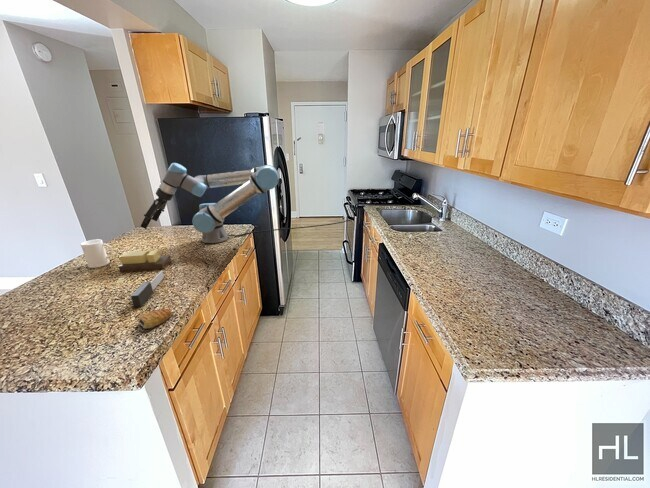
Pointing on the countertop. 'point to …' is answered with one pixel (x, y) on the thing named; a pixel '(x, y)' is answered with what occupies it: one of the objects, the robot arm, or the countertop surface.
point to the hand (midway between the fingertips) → (148, 223)
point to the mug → (95, 253)
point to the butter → (134, 257)
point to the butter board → (146, 265)
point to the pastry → (154, 318)
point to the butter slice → (153, 256)
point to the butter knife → (145, 291)
